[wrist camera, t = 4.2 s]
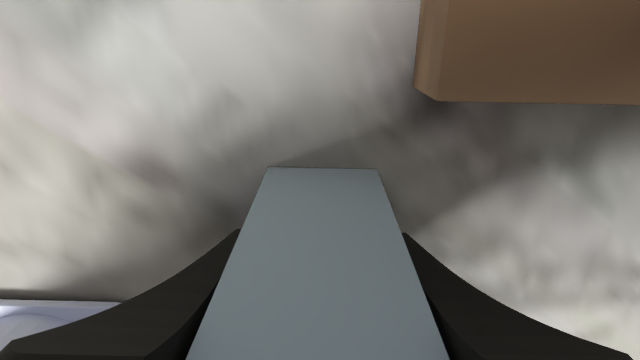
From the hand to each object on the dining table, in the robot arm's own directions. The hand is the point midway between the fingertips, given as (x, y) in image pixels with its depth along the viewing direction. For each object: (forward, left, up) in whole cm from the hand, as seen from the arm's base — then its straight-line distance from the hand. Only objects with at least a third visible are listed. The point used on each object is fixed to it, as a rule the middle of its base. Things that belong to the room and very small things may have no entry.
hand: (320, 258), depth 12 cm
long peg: (0, 0, -3) cm, 3 cm away
